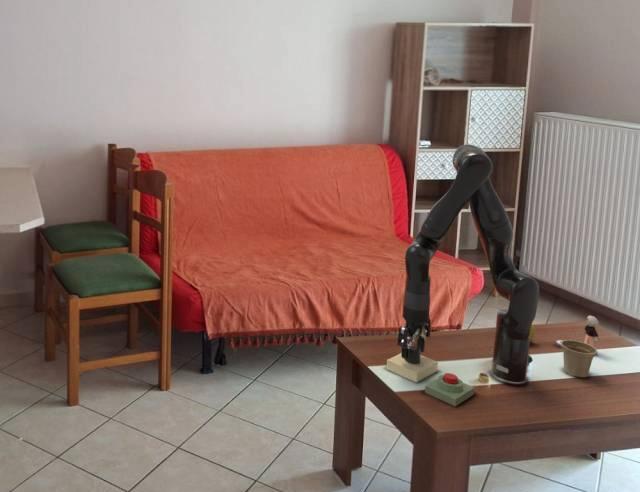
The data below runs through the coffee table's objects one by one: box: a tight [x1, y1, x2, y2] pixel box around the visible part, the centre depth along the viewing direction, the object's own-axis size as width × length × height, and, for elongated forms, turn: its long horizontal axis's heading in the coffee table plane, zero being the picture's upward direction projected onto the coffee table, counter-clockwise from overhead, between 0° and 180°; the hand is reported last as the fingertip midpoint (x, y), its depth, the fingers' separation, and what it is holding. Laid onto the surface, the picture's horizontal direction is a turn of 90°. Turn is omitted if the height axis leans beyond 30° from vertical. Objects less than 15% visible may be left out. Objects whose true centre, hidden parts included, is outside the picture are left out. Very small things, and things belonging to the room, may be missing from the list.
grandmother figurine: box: [583, 315, 600, 348], centre depth 226 cm, size 8×4×13 cm, turn 5°
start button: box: [443, 372, 458, 384], centre depth 198 cm, size 4×4×2 cm
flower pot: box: [560, 339, 598, 378], centre depth 212 cm, size 9×9×9 cm
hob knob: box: [405, 342, 422, 364], centre depth 211 cm, size 4×4×5 cm
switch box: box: [424, 374, 476, 407], centre depth 198 cm, size 11×9×4 cm
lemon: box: [530, 324, 535, 342], centre depth 232 cm, size 6×6×8 cm
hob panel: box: [385, 352, 439, 383], centre depth 212 cm, size 12×10×3 cm
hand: (412, 354), depth 212 cm, fingers open, 8 cm apart
